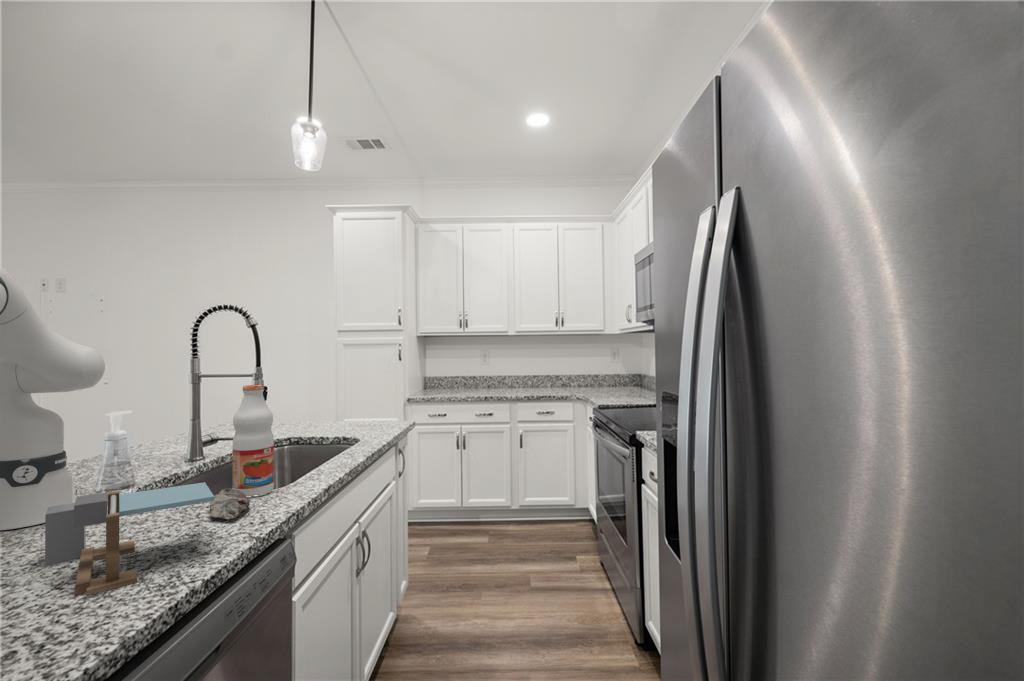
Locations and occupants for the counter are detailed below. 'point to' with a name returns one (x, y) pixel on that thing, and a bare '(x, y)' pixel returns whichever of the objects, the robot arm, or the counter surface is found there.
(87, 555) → the post frame
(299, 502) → the counter surface
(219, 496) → the mineral rock
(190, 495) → the trapdoor
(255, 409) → the fruit juice
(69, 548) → the basalt block
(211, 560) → the counter surface
